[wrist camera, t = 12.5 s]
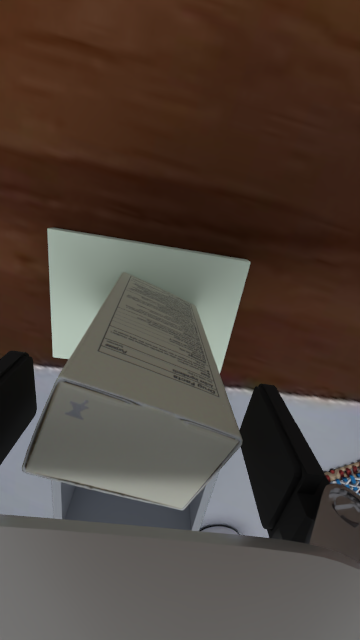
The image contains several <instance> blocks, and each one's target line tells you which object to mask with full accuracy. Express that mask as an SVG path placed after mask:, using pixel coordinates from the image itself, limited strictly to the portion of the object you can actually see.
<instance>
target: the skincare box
mask: <svg viewBox="0 0 360 640" xmlns="http://www.w3.org/2000/svg"><path fill="white" fill-rule="evenodd" d="M242 441H243V440H242V437H241V434H240V431H239V428H238V426H237V423H236V420H235V417H234V414H233V411H232V408H231V405H230V403H229V400H228V397H227V394H226V391H225V388H224V386H223V383H222V380H221V377H220V374H219V371H218V368H217V365H216V362H215V360H214V357H213V354H212V351H211V348H210V345H209V342H208V339H207V337H206V334H205V331H204V328H203V325H202V322H201V319H200V317H199V314H198V311H197V308H196V306H195V305H193V304H191V303H189V302H187V301H186V300H184V299H182V298H180V297H178V296H176V295H174V294H172V293H170V292H167V291H165V290H163V289H161V288H159V287H157V286H155V285H153V284H150V283H148V282H146V281H144V280H141V279H139V278H137V277H135V276H132V275H130V274H128V273H125V272H123V273H122V274H121V276H120V277H119V279H118V280H117V282H116V284H115V285H114V287H113V289H112V290H111V292H110V293H109V295H108V297H107V298H106V300H105V301H104V303H103V305H102V306H101V308H100V310H99V311H98V313H97V315H96V316H95V318H94V319H93V321H92V323H91V324H90V326H89V328H88V329H87V331H86V333H85V334H84V336H83V337H82V339H81V341H80V342H79V344H78V346H77V347H76V349H75V350H74V352H73V354H72V355H71V357H70V358H69V360H68V362H67V363H66V365H65V366H64V368H63V369H62V371H61V373H60V374H59V376H58V378H57V380H56V382H55V384H54V387H53V389H52V391H51V393H50V396H49V398H48V400H47V402H46V405H45V407H44V409H43V412H42V414H41V417H40V419H39V421H38V424H37V426H36V429H35V431H34V434H33V436H32V439H31V442H30V445H29V447H28V450H27V453H26V457H25V460H24V463H23V465H22V471H23V472H25V473H27V474H31V475H36V476H40V477H43V478H47V479H51V480H55V481H58V482H63V483H66V484H70V485H75V486H78V487H83V488H86V489H90V490H96V491H99V492H103V493H107V494H112V495H116V496H120V497H125V498H129V499H133V500H138V501H142V502H146V503H152V504H156V505H161V506H165V507H169V508H174V509H178V510H184V509H185V508H186V507H187V506H188V505H189V503H190V502H191V501H192V500H193V499H194V498H195V496H196V495H197V494H198V493H199V492H200V491H201V490H202V489H203V488H204V487H205V485H207V484H208V483H209V481H210V480H211V479H212V478H213V477H214V476H215V474H216V473H217V472H218V471H219V470H220V469H221V468H222V466H223V465H224V464H225V463H226V462H227V461H228V460H229V459H230V457H231V456H232V455H233V454H234V453H235V452H236V451H237V450H238V448H239V447H240V446H241V445H242Z"/></svg>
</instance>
